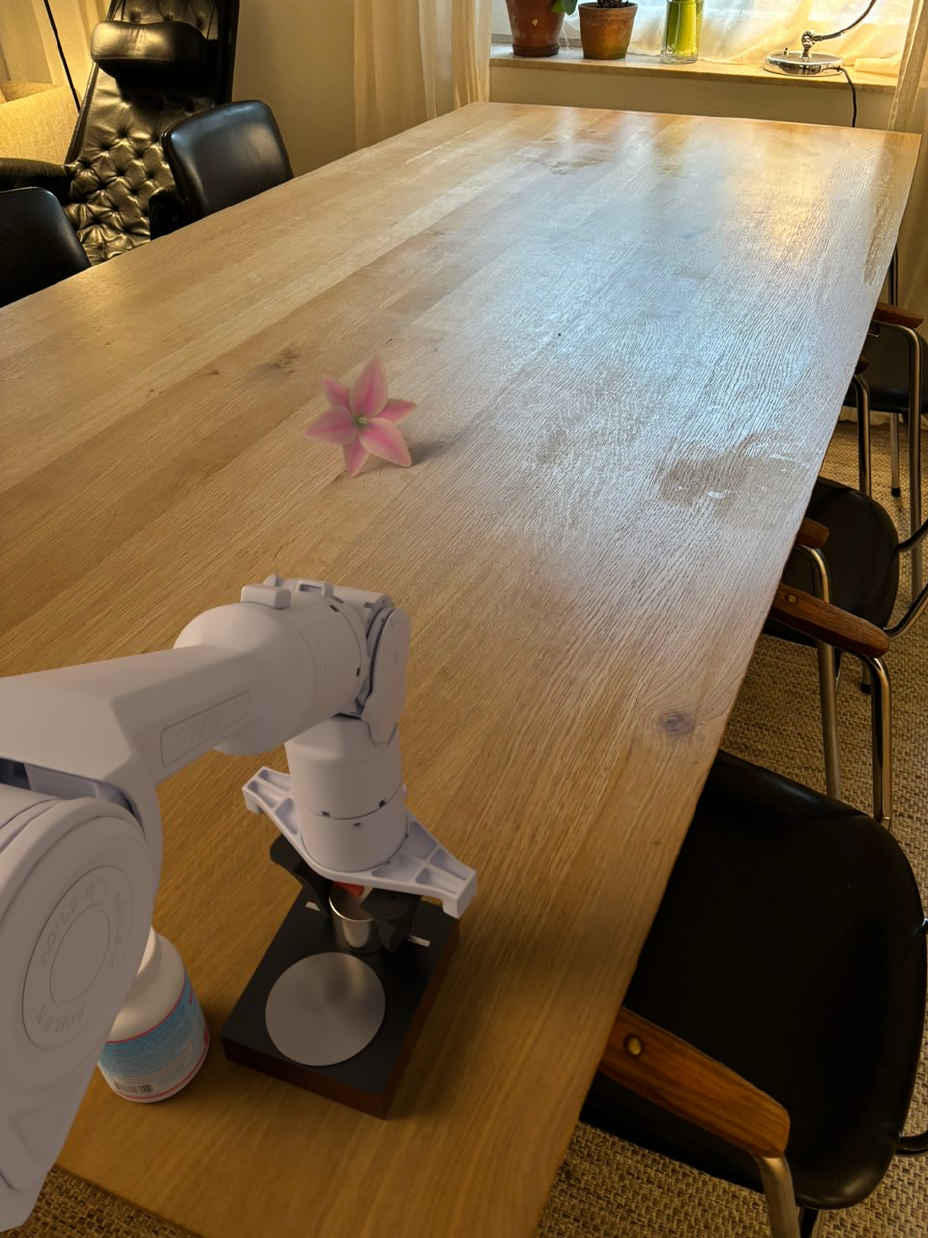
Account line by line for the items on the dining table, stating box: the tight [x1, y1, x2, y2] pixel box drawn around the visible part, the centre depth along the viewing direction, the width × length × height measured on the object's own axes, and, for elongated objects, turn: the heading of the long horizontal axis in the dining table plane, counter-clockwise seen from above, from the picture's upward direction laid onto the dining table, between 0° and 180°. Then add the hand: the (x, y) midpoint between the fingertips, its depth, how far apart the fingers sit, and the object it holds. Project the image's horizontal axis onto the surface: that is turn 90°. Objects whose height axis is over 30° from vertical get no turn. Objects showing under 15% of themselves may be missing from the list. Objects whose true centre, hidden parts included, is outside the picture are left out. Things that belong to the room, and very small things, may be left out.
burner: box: [265, 953, 385, 1067], centre depth 57 cm, size 7×7×1 cm
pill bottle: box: [97, 923, 210, 1104], centre depth 54 cm, size 6×6×11 cm
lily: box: [300, 354, 419, 479], centre depth 106 cm, size 12×12×10 cm
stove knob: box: [329, 880, 384, 954], centre depth 59 cm, size 4×4×4 cm
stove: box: [217, 886, 461, 1121], centre depth 60 cm, size 13×10×3 cm
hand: (367, 921), depth 60 cm, fingers closed on stove knob, 4 cm apart
